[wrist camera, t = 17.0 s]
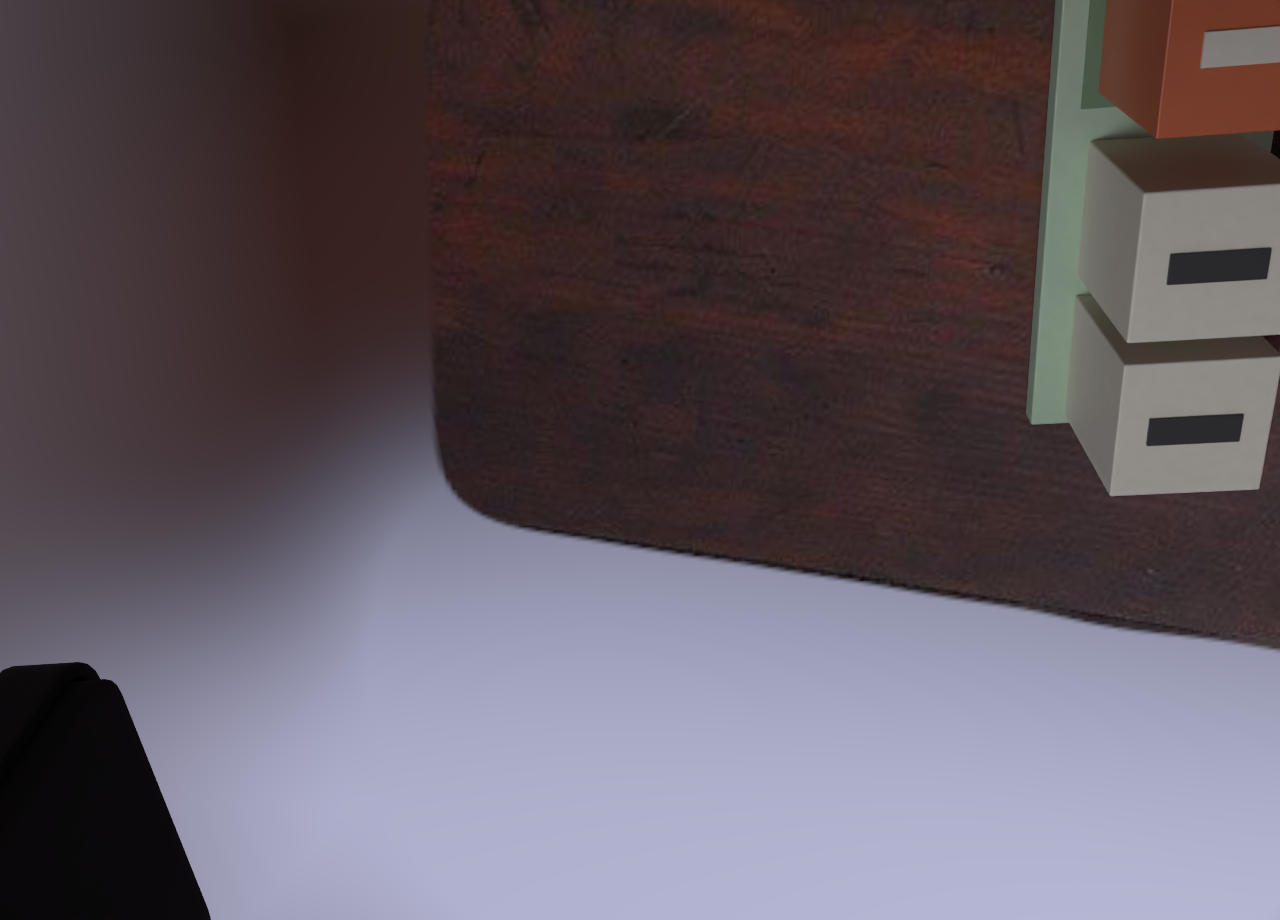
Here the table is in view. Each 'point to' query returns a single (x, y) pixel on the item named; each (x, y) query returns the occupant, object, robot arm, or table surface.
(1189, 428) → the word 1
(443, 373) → the table surface
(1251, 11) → the red block
